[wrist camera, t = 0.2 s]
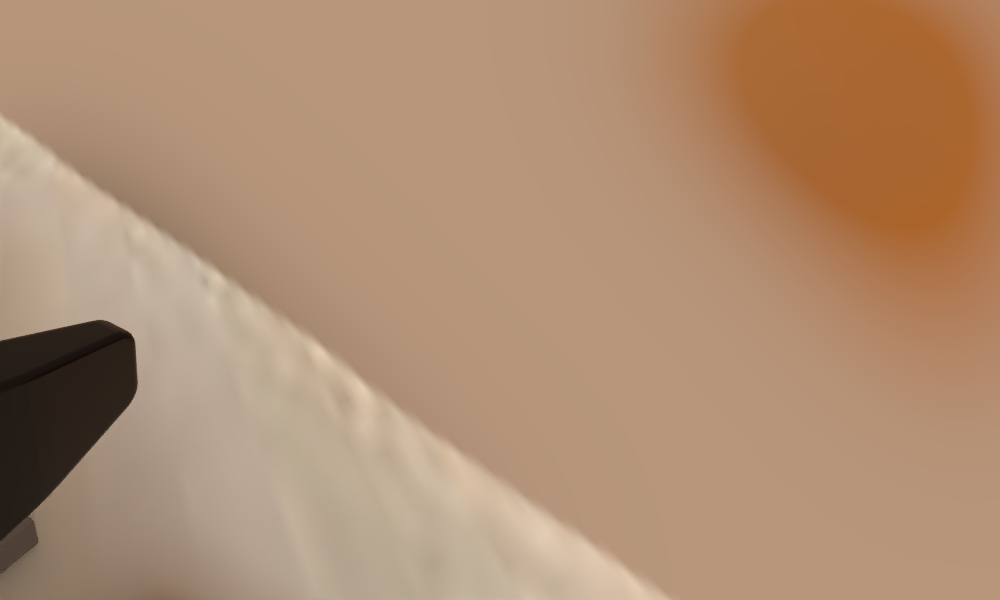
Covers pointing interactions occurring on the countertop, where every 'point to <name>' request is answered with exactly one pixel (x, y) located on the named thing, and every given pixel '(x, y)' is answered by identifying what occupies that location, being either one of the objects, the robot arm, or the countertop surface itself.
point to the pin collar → (17, 543)
